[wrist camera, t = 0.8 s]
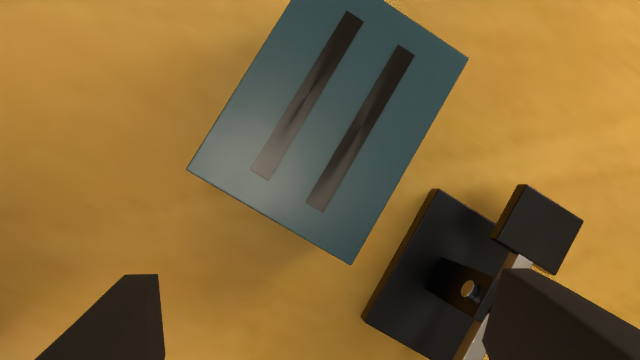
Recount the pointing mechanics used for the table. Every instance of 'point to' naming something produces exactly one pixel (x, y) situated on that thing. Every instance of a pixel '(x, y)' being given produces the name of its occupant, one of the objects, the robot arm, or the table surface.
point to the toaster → (329, 118)
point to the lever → (526, 247)
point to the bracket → (438, 279)
